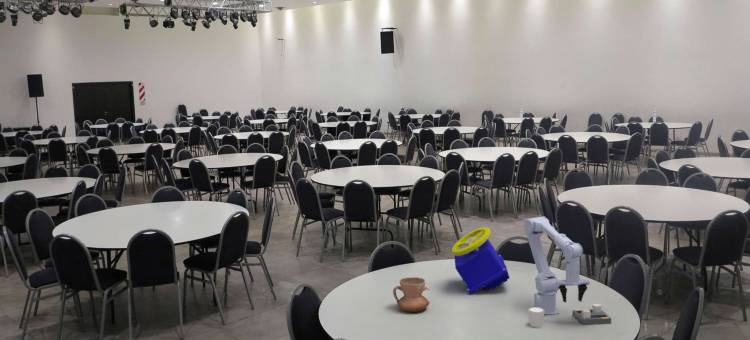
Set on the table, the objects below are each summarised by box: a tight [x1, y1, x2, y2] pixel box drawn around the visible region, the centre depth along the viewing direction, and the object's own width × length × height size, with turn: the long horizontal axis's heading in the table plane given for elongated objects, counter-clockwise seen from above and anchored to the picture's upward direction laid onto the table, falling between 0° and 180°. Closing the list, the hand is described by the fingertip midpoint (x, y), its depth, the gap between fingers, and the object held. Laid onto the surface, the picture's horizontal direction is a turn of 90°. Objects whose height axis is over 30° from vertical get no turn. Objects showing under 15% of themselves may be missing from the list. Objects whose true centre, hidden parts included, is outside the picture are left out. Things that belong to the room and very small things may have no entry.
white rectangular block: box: [581, 309, 591, 319], centre depth 271 cm, size 3×3×4 cm
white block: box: [592, 303, 602, 313], centre depth 277 cm, size 3×3×4 cm
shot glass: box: [528, 306, 545, 328], centre depth 269 cm, size 7×7×7 cm
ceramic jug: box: [392, 276, 431, 313], centre depth 292 cm, size 18×14×14 cm
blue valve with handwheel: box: [451, 226, 511, 295], centre depth 316 cm, size 26×27×30 cm
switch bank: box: [571, 308, 612, 326], centre depth 274 cm, size 13×11×2 cm
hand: (572, 301), depth 270 cm, fingers open, 6 cm apart
